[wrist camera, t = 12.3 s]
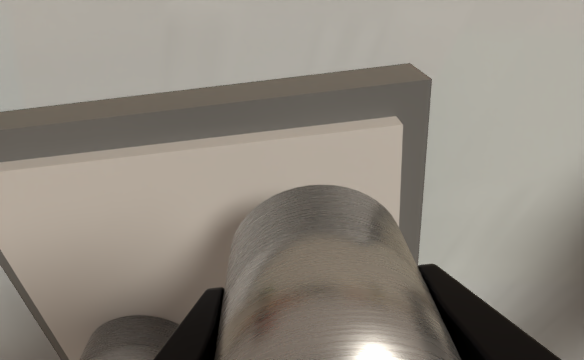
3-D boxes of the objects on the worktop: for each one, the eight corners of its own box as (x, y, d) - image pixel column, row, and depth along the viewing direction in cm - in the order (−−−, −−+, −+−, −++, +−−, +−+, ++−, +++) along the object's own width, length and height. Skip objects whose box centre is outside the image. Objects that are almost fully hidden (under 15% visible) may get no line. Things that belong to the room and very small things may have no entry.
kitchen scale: (410, 63, 13) (450, 92, 10) (396, 351, 20) (417, 416, 17) (-33, 115, 13) (-120, 159, 10) (115, 382, 20) (89, 451, 17)
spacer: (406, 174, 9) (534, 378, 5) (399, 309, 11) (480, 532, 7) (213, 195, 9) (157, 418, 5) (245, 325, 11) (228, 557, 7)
